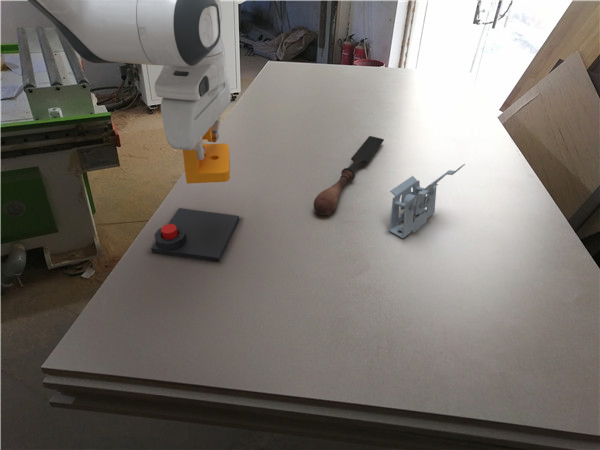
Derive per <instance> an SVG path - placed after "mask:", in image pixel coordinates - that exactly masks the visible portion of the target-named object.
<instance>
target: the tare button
mask: <svg viewBox="0 0 600 450" xmlns="http://www.w3.org/2000/svg"><path fill="white" fill-rule="evenodd" d="M160 228H161V232H162V236H163V238H164V239H167V240H170V239H174V238H176V237H177V236H178V232H177V227H176V226H175V225H174V224H168V223H167V224H164V225H162V226H161V227H160Z"/></svg>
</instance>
